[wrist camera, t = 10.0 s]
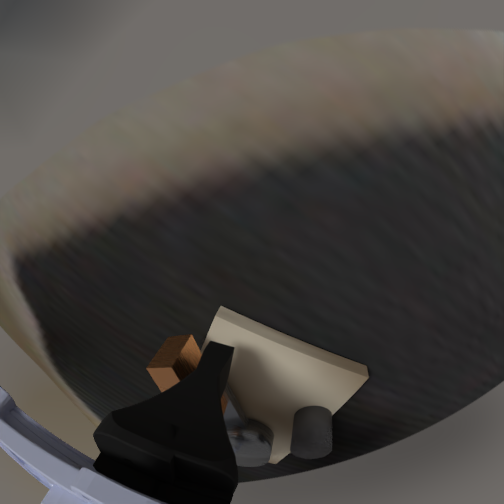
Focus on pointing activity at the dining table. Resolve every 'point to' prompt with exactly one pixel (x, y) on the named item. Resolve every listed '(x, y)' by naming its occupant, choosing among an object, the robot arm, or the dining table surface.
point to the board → (281, 375)
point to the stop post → (312, 432)
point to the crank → (237, 424)
